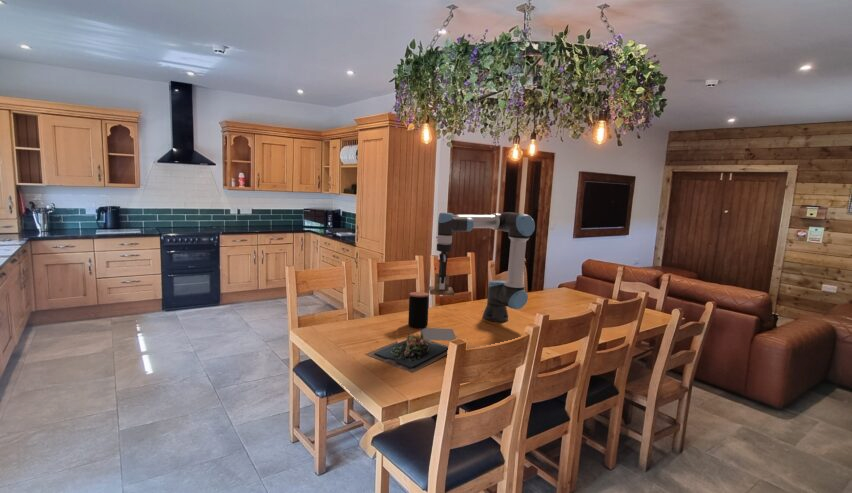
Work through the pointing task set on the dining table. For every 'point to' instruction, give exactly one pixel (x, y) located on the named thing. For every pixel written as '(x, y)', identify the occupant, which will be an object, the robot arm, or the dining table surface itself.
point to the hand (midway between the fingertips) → (441, 288)
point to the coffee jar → (418, 309)
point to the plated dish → (410, 353)
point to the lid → (437, 291)
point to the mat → (438, 334)
